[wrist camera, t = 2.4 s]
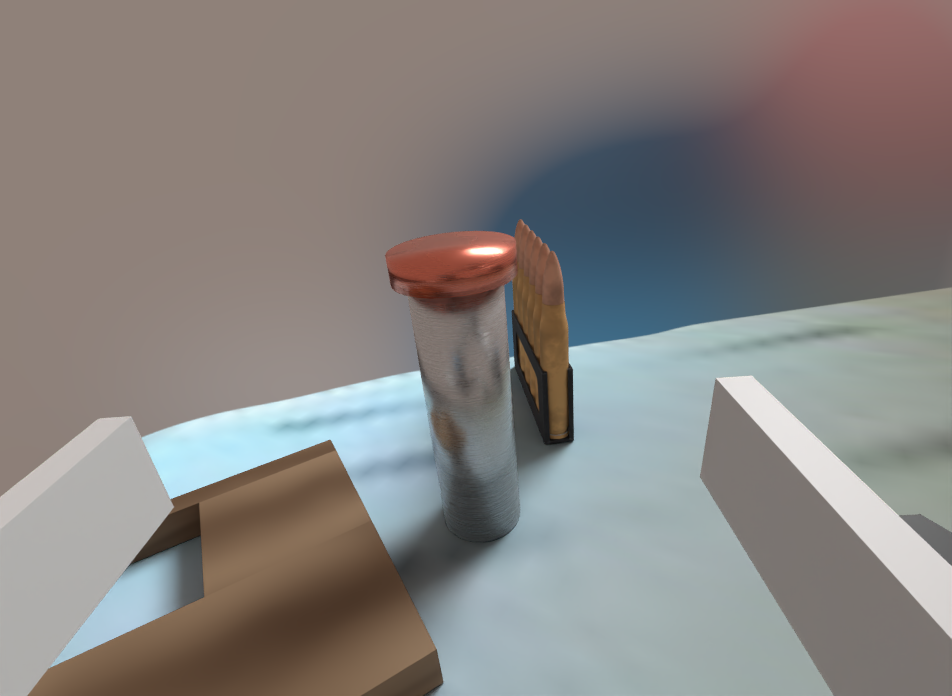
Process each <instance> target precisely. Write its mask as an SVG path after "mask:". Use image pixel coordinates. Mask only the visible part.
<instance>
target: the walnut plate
mask: <svg viewBox="0 0 952 696" xmlns="http://www.w3.org/2000/svg"><path fill="white" fill-rule="evenodd" d="M170 500H171V502H172V504H173V506H174V508H173V509H172V510H171V512H170V513H169V514H168V516H167V517H166V518H165V519H164V521H163V522H162V523H161V525H160V526H159V527H158V528H157V530H156V531H155V532H154V534H153V535H152V536H151V537H150V539H149V540H148V541H147V543H146V544H145V545H144V546H143V548H142V549H141V550H140V552H139V553H138V554H137V555H136V557H135V558H134V559H133V561H132V562H131V563H134V562H136V561H139V560H141V559H144V558H146V557H149V556H151V555H153V554H156V553H158V552H161V551H163V550H166V549H168V548H171V547H173V546H175V545H178V544H180V543H183V542H185V541H188V540H190V539H192V538H195V537H197V536H200V535H201V546H202V565H203V584H204V598H201V599H199V600H197V601H195V602H193V603H190V604H188V605H186V606H184V607H182V608H180V609H177V610H175V611H173V612H171V613H169V614H167V615H164V616H162V617H160V618H158V619H156V620H153V621H151V622H149V623H147V624H145V625H143V626H140V627H138V628H136V629H134V630H132V631H130V632H127V633H125V634H123V635H121V636H119V637H116V638H114V639H112V640H110V641H108V642H106V643H103V644H101V645H99V646H97V647H95V648H93V649H90V650H88V651H86V652H84V653H82V654H79V655H77V656H75V657H73V658H71V659H69V660H66V661H64V662H62V663H60V664H58V665H56V666H53V667H51V668H49V669H48V670H47V671H46V672H45V674H44V675H43V676H42V677H41V679H40V680H39V681H38V683H37V684H36V685H35V686H34V688H33V689H32V690H31V692H30V693H29V694H28V695H27V696H423V695H425V694H426V693H428V692H429V691H431V690H432V689H434V688H435V687H437V686H439V685H440V684H442V683H443V677H442V673H441V668H440V663H439V658H438V653H437V649H436V647H435V645H434V643H433V641H432V639H431V637H430V635H429V633H428V631H427V629H426V627H425V625H424V623H423V621H422V619H421V617H420V615H419V613H418V611H417V609H416V608H415V606H414V604H413V602H412V600H411V598H410V596H409V594H408V592H407V590H406V588H405V586H404V584H403V582H402V580H401V578H400V576H399V574H398V572H397V570H396V568H395V566H394V564H393V562H392V560H391V558H390V556H389V554H388V552H387V550H386V548H385V546H384V544H383V542H382V540H381V538H380V536H379V534H378V532H377V530H376V528H375V526H374V525H373V523H372V521H371V519H370V517H369V515H368V513H367V511H366V509H365V507H364V505H363V503H362V501H361V499H360V497H359V495H358V493H357V491H356V489H355V487H354V485H353V483H352V481H351V479H350V477H349V475H348V473H347V471H346V469H345V467H344V465H343V463H342V461H341V459H340V457H339V455H338V453H337V451H336V449H335V447H334V445H333V443H332V441H331V440H328V441H325V442H323V443H320V444H317V445H315V446H312V447H309V448H307V449H304V450H301V451H299V452H296V453H293V454H290V455H288V456H285V457H282V458H280V459H277V460H274V461H272V462H269V463H266V464H264V465H261V466H258V467H256V468H253V469H250V470H248V471H245V472H242V473H240V474H237V475H234V476H232V477H229V478H226V479H224V480H221V481H218V482H216V483H213V484H210V485H207V486H205V487H202V488H199V489H197V490H194V491H191V492H189V493H186V494H183V495H181V496H178V497H175V498H173V499H170ZM131 563H130V564H131Z"/></svg>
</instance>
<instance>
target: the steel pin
mask: <svg viewBox="0 0 952 696" xmlns="http://www.w3.org/2000/svg"><path fill="white" fill-rule="evenodd" d="M385 256H386V262H387V268H388V273H389V278H390V284H391V287H392V289H393V290H394V291H396V292H397V293H399V294H403V295H406V296H408V300H409V306H410V312H411V318H412V324H413V330H414V336H415V342H416V348H417V354H418V360H419V366H420V372H421V378H422V384H423V390H424V396H425V402H426V408H427V414H428V420H429V426H430V432H431V438H432V444H433V450H434V456H435V462H436V468H437V474H438V480H439V486H440V492H441V498H442V504H443V510H444V516H445V522H446V524H447V526H448V528H449V529H450V531H451V532H452V533H453V534H455V535H456V536H458V537H459V538H461V539H464V540H467V541H472V542H487V541H492V540H495V539H498V538H500V537H502V536H504V535H506V534H507V533H509V532H510V531H511V530H512V529H513V528H514V527H515V525H516V524H517V522H518V520H519V517H520V500H519V487H518V473H517V459H516V445H515V431H514V417H513V404H512V390H511V376H510V362H509V349H508V335H507V321H506V307H505V294H504V285H505V284H507V283H508V282H510V281H511V280H513V279H514V278H515V277H516V275H517V273H518V268H517V251H516V240H515V238H513V237H512V236H510V235H507V234H503V233H498V232H487V231H463V232H451V233H442V234H436V235H430V236H426V237H421V238H417V239H413V240H410V241H406V242H404V243H401V244H399V245H396V246H394V247H393V248H391V249H390V250H388V251H387V253H386V255H385Z"/></svg>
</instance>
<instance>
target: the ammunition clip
mask: <svg viewBox="0 0 952 696" xmlns="http://www.w3.org/2000/svg"><path fill="white" fill-rule="evenodd" d="M515 240H516V251H517V268H518V273H517V275H516V277H515V278H514V279H513V300H514V310H512V324H513V342H514V361H515V368H516V371H517V374H518V376H519V379H520V381H521V384H522V387H523V389H524V392H525V394H526V397H527V400H528V402H529V405H530V407H531V410H532V412H533V415H534V418H535V420H536V423H537V425H538V428H539V431H540V433H541V436H542V438H543V441H544V444H551V443H558V442H565V441H572V440H574V424H573V369H572V367H571V365H570V364H569V356H568V324H567V320H566V315H565V302H564V287H563V279H562V273H561V268H560V265H559V261H558V259H557V256H556V254H555V253H554V251H550V250H549V248H548V246H547V245H546V244H545V243H543V244H542V241H541V239H540V238H539V237H536V236H535V234H534V232H533V231H532V230H531V231H530V230H529V228H528V226H527V225H524V223H523V221H522V220H519V221H518V224H517V227H516V232H515Z"/></svg>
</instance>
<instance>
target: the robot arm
mask: <svg viewBox="0 0 952 696" xmlns="http://www.w3.org/2000/svg"><path fill="white" fill-rule="evenodd" d="M700 478H701V479H702V481H703V483H704V484H705V486H706V488H707V489H708V491H709V492H710V494H711V496H712V497H713V499H714V501H715V502H716V504H717V505H718V507H719V509H720V510H721V512H722V514H723V515H724V517H725V519H726V520H727V522H728V523H729V525H730V527H731V528H732V530H733V532H734V533H735V535H736V536H737V538H738V540H739V541H740V543H741V545H742V546H743V548H744V550H745V551H746V553H747V554H748V556H749V558H750V559H751V561H752V563H753V564H754V566H755V567H756V569H757V571H758V572H759V574H760V576H761V577H762V579H763V581H764V582H765V584H766V585H767V587H768V589H769V590H770V592H771V594H772V595H773V597H774V598H775V600H776V602H777V603H778V605H779V607H780V608H781V610H782V612H783V613H784V615H785V616H786V618H787V620H788V621H789V623H790V625H791V626H792V628H793V629H794V631H795V633H796V634H797V636H798V638H799V639H800V641H801V643H802V644H803V646H804V647H805V649H806V651H807V652H808V654H809V656H810V657H811V659H812V660H813V662H814V664H815V665H816V667H817V669H818V670H819V672H820V674H821V675H822V677H823V678H824V680H825V682H826V683H827V685H828V687H829V688H830V690H831V691H832V693H833V695H834V696H952V532H950V531H948V530H946V529H945V528H943V527H941V526H940V525H938V524H936V523H934V522H933V521H931V520H929V519H928V518H926V517H924V516H922V515H921V514H918V515H900V516H898V515H897V514H896V513H895V512H894V511H893V510H892V509H891V508H890V507H889V506H888V505H887V504H886V503H885V502H884V501H883V500H882V499H881V498H880V497H879V496H877V495H876V494H875V493H874V492H873V491H872V490H871V489H870V488H869V487H868V486H867V485H866V484H865V483H864V482H863V481H862V480H861V479H860V478H859V477H858V476H856V475H855V474H854V473H853V472H852V471H851V470H850V469H849V468H848V467H847V466H846V465H845V464H844V463H843V462H842V461H841V460H840V459H839V458H838V457H837V456H835V455H834V454H833V453H832V452H831V451H830V450H829V449H828V448H827V447H826V446H825V445H824V444H823V443H822V442H821V441H820V440H819V439H818V438H817V437H816V436H814V435H813V434H812V433H811V432H810V431H809V430H808V429H807V428H806V427H805V426H804V425H803V424H802V423H801V422H800V421H799V420H798V419H797V418H796V417H795V416H793V415H792V414H791V413H790V412H789V411H788V410H787V409H786V408H785V407H784V406H783V405H782V404H781V403H780V402H779V401H778V400H777V399H776V398H775V397H773V396H772V395H771V394H770V393H769V392H768V391H767V390H766V389H765V388H764V387H763V386H762V385H761V384H760V383H759V382H758V381H757V380H756V379H755V378H754V377H752V376H740V377H724V378H716V380H715V386H714V392H713V399H712V405H711V411H710V417H709V424H708V430H707V436H706V443H705V449H704V455H703V461H702V468H701V474H700ZM173 508H174V506H173V504H172V502H171V500H170V498H169V496H168V493H167V491H166V489H165V487H164V485H163V483H162V481H161V479H160V476H159V474H158V472H157V470H156V468H155V466H154V464H153V462H152V459H151V457H150V455H149V453H148V451H147V449H146V447H145V445H144V442H143V440H142V438H141V436H140V434H139V432H138V430H137V428H136V425H135V423H134V421H133V419H132V417H131V416H130V417H114V418H99V419H98V420H96V421H95V422H94V423H93V424H91V425H90V426H89V427H88V428H86V429H85V430H84V431H83V432H82V433H80V434H79V435H78V436H76V437H75V438H74V439H73V440H71V441H70V442H69V443H67V444H66V445H65V446H64V447H62V448H61V449H60V450H59V451H57V452H56V453H55V454H54V455H52V456H51V457H50V458H49V459H47V460H46V461H45V462H44V463H42V464H41V465H40V466H39V467H37V468H36V469H35V470H34V471H32V472H31V473H30V474H29V475H27V476H26V477H25V478H24V479H22V480H21V481H20V482H19V483H17V484H16V485H15V486H13V487H12V488H11V489H10V490H8V491H7V492H6V493H5V494H4V495H2V496H1V497H0V696H27V695H28V694H29V693H30V692H31V690H32V689H33V688H34V686H35V685H36V684H37V683H38V681H39V680H40V679H41V677H42V676H43V675H44V674H45V672H46V671H47V670H48V668H49V667H50V666H51V665H52V663H53V662H54V661H55V659H56V658H57V657H58V656H59V654H60V653H61V652H62V650H63V649H64V648H65V647H66V645H67V644H68V643H69V641H70V640H71V639H72V638H73V636H74V635H75V634H76V632H77V631H78V630H79V629H80V627H81V626H82V625H83V623H84V622H85V621H86V620H87V618H88V617H89V616H90V614H91V613H92V612H93V611H94V609H95V608H96V607H97V605H98V604H99V603H100V602H101V600H102V599H103V598H104V596H105V595H106V594H107V593H108V591H109V590H110V589H111V587H112V586H113V585H114V584H115V582H116V581H117V580H118V578H119V577H120V576H121V575H122V573H123V572H124V571H125V570H126V568H127V567H128V566H129V564H130V563H131V562H132V561H133V559H134V558H135V557H136V555H137V554H138V553H139V552H140V550H141V549H142V548H143V546H144V545H145V544H146V543H147V541H148V540H149V539H150V537H151V536H152V535H153V534H154V532H155V531H156V530H157V528H158V527H159V526H160V525H161V523H162V522H163V521H164V519H165V518H166V517H167V516H168V514H169V513H170V512H171V510H172V509H173Z"/></svg>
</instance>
